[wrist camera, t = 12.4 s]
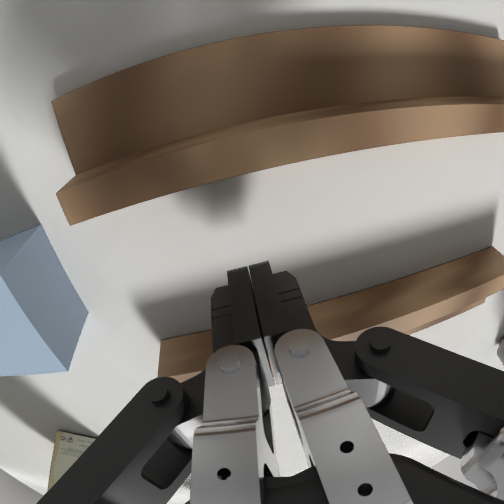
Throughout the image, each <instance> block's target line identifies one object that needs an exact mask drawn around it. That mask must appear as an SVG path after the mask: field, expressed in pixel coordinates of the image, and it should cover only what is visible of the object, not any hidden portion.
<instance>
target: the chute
mask: <svg viewBox="0 0 504 504" xmlns="http://www.w3.org/2000/svg"><path fill="white" fill-rule="evenodd" d="M51 102H52V105H53V109H54V112H55V115H56V118H57V122H58V125H59V128H60V131H61V134H62V137H63V140H64V143H65V146H66V149H67V152H68V155H69V157H70V160H71V163H72V166H73V168H74V171H75V174H76V176H75V177H73V178H72V179H71V180H70V181H69V182H68V183H67V184H66V185H65V186H63V187H62V188H61V189H60V190H59V191H58V192H57V193H56V195H57V198H58V200H59V202H60V205H61V207H62V209H63V212H64V214H65V216H66V218H67V221H68V223H69V225H70V226H71V225H74V224H77V223H80V222H82V221H85V220H88V219H91V218H94V217H97V216H100V215H103V214H106V213H109V212H112V211H115V210H118V209H122V208H125V207H128V206H131V205H134V204H137V203H141V202H144V201H147V200H151V199H154V198H157V197H161V196H164V195H168V194H171V193H175V192H178V191H182V190H185V189H189V188H193V187H196V186H200V185H204V184H207V183H211V182H215V181H219V180H223V179H227V178H231V177H235V176H239V175H243V174H247V173H251V172H255V171H260V170H264V169H268V168H273V167H277V166H282V165H286V164H291V163H295V162H300V161H305V160H310V159H315V158H320V157H325V156H330V155H335V154H341V153H346V152H352V151H357V150H363V149H369V148H375V147H381V146H387V145H394V144H401V143H407V142H415V141H422V140H430V139H438V138H446V137H455V136H464V135H474V134H485V133H497V132H504V40H500V39H495V38H491V37H486V36H481V35H475V34H469V33H463V32H457V31H449V30H441V29H432V28H421V27H408V26H385V25H352V26H328V27H314V28H303V29H293V30H285V31H277V32H270V33H263V34H257V35H251V36H246V37H240V38H235V39H230V40H225V41H220V42H216V43H212V44H207V45H203V46H199V47H195V48H191V49H188V50H184V51H180V52H177V53H173V54H170V55H166V56H163V57H160V58H157V59H154V60H151V61H147V62H144V63H142V64H139V65H136V66H133V67H130V68H127V69H125V70H122V71H119V72H117V73H114V74H112V75H109V76H107V77H104V78H102V79H99V80H97V81H94V82H92V83H90V84H87V85H85V86H83V87H81V88H78V89H76V90H74V91H72V92H70V93H68V94H66V95H64V96H61V97H59V98H57V99H55V100H53V101H51ZM502 289H504V256H503V255H502V254H501V253H500V252H499V251H497V250H496V249H495V248H494V247H493V246H492V247H489V248H486V249H484V250H481V251H478V252H476V253H473V254H470V255H468V256H465V257H462V258H459V259H456V260H454V261H451V262H448V263H445V264H442V265H439V266H437V267H434V268H431V269H428V270H425V271H422V272H419V273H416V274H413V275H410V276H407V277H404V278H401V279H397V280H394V281H391V282H388V283H385V284H382V285H378V286H375V287H372V288H369V289H365V290H362V291H359V292H355V293H352V294H349V295H345V296H342V297H338V298H335V299H331V300H328V301H324V302H320V303H317V304H313V305H310V306H307V308H308V311H309V313H310V316H311V318H312V321H313V324H314V326H315V328H316V330H317V331H318V333H319V334H321V335H322V336H323V337H325V338H327V339H330V340H334V341H356V340H357V338H358V336H359V335H360V334H361V333H362V332H364V331H365V330H367V329H370V328H373V327H389V328H392V329H394V330H397V331H399V332H402V333H404V334H407V335H410V334H412V333H415V332H418V331H420V330H423V329H425V328H428V327H430V326H433V325H435V324H437V323H440V322H442V321H445V320H447V319H449V318H452V317H454V316H456V315H458V314H461V313H463V312H465V311H467V310H469V309H472V308H474V307H476V306H478V305H480V304H482V303H484V302H485V299H486V297H488V296H490V295H492V294H494V293H496V292H498V291H500V290H502ZM212 354H213V347H212V330H208V331H203V332H199V333H194V334H189V335H185V336H180V337H175V338H170V339H165V340H161V346H160V356H159V367H158V378H159V377H171V378H174V379H176V380H177V381H178V382H179V383H181V382H184V381H186V380H188V379H190V378H192V377H194V376H196V375H198V374H199V373H201V372H202V371H203V370H204V369H205V368H206V363H207V361H208V359H209V357H210V356H211V355H212ZM269 360H270V358H269ZM270 365H271V362H270ZM271 369H272V365H271ZM272 374H273V377H275V376H274V372H273V369H272Z"/></svg>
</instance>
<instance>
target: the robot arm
mask: <svg viewBox="0 0 504 504" xmlns="http://www.w3.org/2000/svg"><path fill="white" fill-rule="evenodd" d="M249 270H250V275H251V279H250V275H249V271H248V268H247V266H246V267H242V268H238V269H233V270H229V271H227V276H228V285H227V286H223V287H219V288H216V289H215V291H214V293H213V295H212V297H211V319H212V320H211V323H212V347H213V354H212V355H211V356H210V357H209V359H208V361H207V363H206V368H205V369H204V370H203V371H202V372H201V373H199V374H198V375H196V376H194V377H192V378H190V379H188V380H186V381H184V382H181V383H179V382H178V381H177V380H176V379H174V378H171V377H159V378H155V379H153V380H151V381H149V382H148V383H147V384H145V385H144V386H143V387H142V389H141V390H140V391H139V392H138V393H137V394H136V395H135V396H134V397H133V399H132V400H131V401H130V402H129V403H128V404H127V405H126V406H125V407H124V409H123V410H122V411H121V412H120V413H119V414H118V415H117V416H116V417H115V418H114V420H113V421H112V422H111V423H110V424H109V425H108V426H107V427H106V428H105V429H104V431H103V432H102V433H101V434H100V435H99V436H98V437H97V438H96V439H95V440H94V442H93V443H92V444H91V445H90V446H89V447H88V448H87V449H86V450H85V451H84V453H83V454H82V455H81V456H80V457H79V458H78V459H77V460H76V461H75V462H74V464H73V465H72V466H71V467H70V468H69V469H68V470H67V471H66V472H65V473H64V474H63V476H62V477H61V478H60V479H59V480H58V481H57V482H56V483H55V484H54V485H53V486H52V487H51V489H50V490H49V491H48V492H47V493H46V494H45V495H44V496H43V497H42V498H41V499H40V500H39V502H38V503H37V504H166V503H167V502H168V501H169V500H170V498H171V497H172V496H173V495H174V494H175V492H176V491H177V490H178V489H179V487H180V486H181V485H182V484H183V482H184V481H185V480H186V478H187V477H188V476H189V475H190V473H191V491H190V500H189V501H188V502H186V503H185V504H504V371H501V370H499V369H496V368H493V367H491V366H488V365H485V364H483V363H480V362H477V361H475V360H472V359H469V358H467V357H464V356H461V355H459V354H456V353H454V352H451V351H448V350H446V349H443V348H441V347H438V346H435V345H433V344H430V343H428V342H425V341H422V340H420V339H417V338H415V337H412V336H410V335H407V334H404V333H402V332H399V331H397V330H394V329H392V328H389V327H373V328H370V329H367V330H365V331H364V332H362V333H361V334H360V335H359V336H358V338H357V340H356V341H334V340H330V339H327V338H325V337H323V336H322V335H321V334H319V333H318V331H317V330H316V328H315V326H314V324H313V321H312V318H311V316H310V313H309V311H308V308H307V306H306V303H305V301H304V298H303V296H302V293H301V290H300V288H299V285H298V283H297V280H296V278H295V277H294V276H292V275H291V274H290V273H288V272H287V271H284V272H280V273H276V274H272V271H271V267H270V264H269V261H266V262H262V263H258V264H254V265H249ZM251 280H252V283H251ZM252 284H253V286H252ZM253 289H254V290H253ZM269 358H270V360H269ZM270 362H271V365H272V369H273V372H274V376H275V379H276V383H277V384H282V383H283V387H284V391H285V395H286V399H287V403H288V406H289V409H290V412H291V415H292V418H293V421H294V424H295V427H296V430H297V432H298V435H299V438H300V441H301V444H302V447H303V450H304V453H305V456H306V460H307V463H308V466H309V468H308V469H306V470H304V471H302V472H300V473H298V474H296V475H294V476H291V477H281V476H280V470H279V466H278V462H277V456H276V447H275V437H274V427H273V418H272V408H271V398H270V393H269V388H268V387H269V386H274V385H275V383H274V379H273V374H272V369H271V365H270ZM371 418H372V419H374V420H376V421H378V422H380V423H382V424H384V425H386V426H388V427H391V428H393V429H395V430H397V431H399V432H401V433H403V434H405V435H407V436H409V437H412V438H414V439H416V440H418V441H420V442H422V443H425V444H427V445H429V446H431V447H434V448H436V449H438V450H441V451H443V452H445V453H448V454H450V455H453V456H455V457H457V458H460V459H461V470H462V473H463V475H464V476H465V478H466V479H467V480H469V481H470V482H472V483H474V484H475V485H476V486H477V487H478V489H479V490H477V489H474V488H472V487H470V486H467V485H465V484H463V483H461V482H459V481H456V480H454V479H452V478H450V477H448V476H446V475H444V474H442V473H439V472H437V471H435V470H433V469H431V468H429V467H427V466H425V465H423V464H421V463H419V462H417V461H415V460H413V459H411V458H408V457H405V456H402V455H397V454H390V453H388V451H387V449H386V447H385V445H384V443H383V441H382V439H381V437H380V435H379V433H378V431H377V429H376V427H375V425H374V423H373V421H372V419H371Z"/></svg>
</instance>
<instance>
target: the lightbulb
mask: <svg viewBox="0 0 504 504" xmlns="http://www.w3.org/2000/svg"><path fill="white" fill-rule="evenodd" d="M497 355H498V357H499V358H500V360H501V361H502V363H503V365H504V338H503V339H502V340H501V341H500V343H499V348H498V350H497Z"/></svg>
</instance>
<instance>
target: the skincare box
mask: <svg viewBox="0 0 504 504" xmlns="http://www.w3.org/2000/svg"><path fill="white" fill-rule="evenodd" d="M94 440H95V439H94V438H90V437H86V436H81V435H76V434H72V433H67V432H61V431H57V433H56V438H55V444H54V450H53V456H52V462H51V468H50V475H49V483H48V491H49V490H50V489H51V487H52V486H53V485H54V484H55V483H56V482H57V481H58V480H59V479H60V478H61V477H62V476H63V474H64V473H65V472H66V471H67V470H68V469H69V468H70V467H71V466H72V465H73V464H74V462H75V461H76V460H77V459H78V458H79V457H80V456H81V455H82V454H83V453H84V451H85V450H86V449H87V448H88V447H89V446H90V445H91V444H92V443H93V442H94ZM48 491H47V492H48Z"/></svg>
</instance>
